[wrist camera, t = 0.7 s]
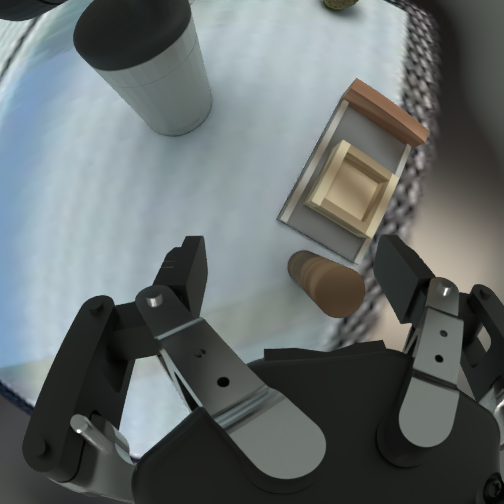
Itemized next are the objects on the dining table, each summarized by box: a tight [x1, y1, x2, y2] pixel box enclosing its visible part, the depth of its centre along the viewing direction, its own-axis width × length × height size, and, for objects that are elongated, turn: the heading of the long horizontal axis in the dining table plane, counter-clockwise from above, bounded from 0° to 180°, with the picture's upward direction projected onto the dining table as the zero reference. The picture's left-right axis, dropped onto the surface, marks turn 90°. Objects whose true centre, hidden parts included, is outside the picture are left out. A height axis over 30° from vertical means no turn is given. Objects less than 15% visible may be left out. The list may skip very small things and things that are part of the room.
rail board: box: [277, 78, 429, 265], centre depth 31 cm, size 20×12×6 cm, turn 152°
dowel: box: [288, 250, 365, 318], centre depth 27 cm, size 4×4×14 cm
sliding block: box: [304, 140, 399, 238], centre depth 30 cm, size 8×8×4 cm
